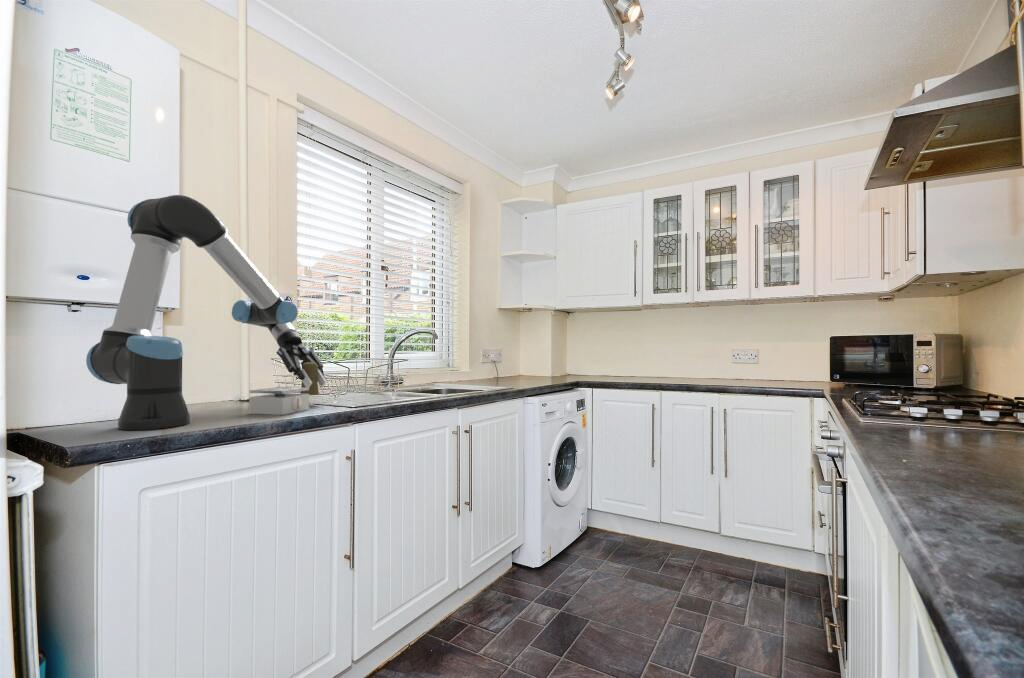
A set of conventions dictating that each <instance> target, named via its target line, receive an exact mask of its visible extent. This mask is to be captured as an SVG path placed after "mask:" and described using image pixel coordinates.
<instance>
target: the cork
mask: <svg viewBox="0 0 1024 678" xmlns="http://www.w3.org/2000/svg"><path fill="white" fill-rule="evenodd" d="M301 369H304V370H305V372H306V373H307V375H308V377H309V378H310V380H311V381H312V384H311V386H310V387H309V390H306V391H299V392H300V393H299V394H309V396H316V395H320V392H319V383H318V381H317V375H316V371H317V370H318V365H317V364H316V363H313V362H307V363H305V362H303V363H302V365H301ZM300 387H304V388H306V387H305V385H304V383H303V382H302V381H301V386H300Z"/></svg>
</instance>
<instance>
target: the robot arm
mask: <svg viewBox="0 0 1024 678" xmlns="http://www.w3.org/2000/svg"><path fill="white" fill-rule="evenodd" d="M127 225H128V227H129V228H130V232H131V234H130V239H131V241H132V242H133V243H134V249H133V252H132V256H131V259H130V263H129V266H128V270H127V273H126V276H125V280H124V283H123V287H122V289H121V290H122V291H121V294H120V298H119V302H118V304H117V308H116V312H115V315H114V317H113V323H112V325H111V326H109V327H107V328H104V329H103V332H102V335H101V338H100V340H99V342H97V343H96V344H95V345H93V346H91V348H90V349H89V350H88V351H87V354H86V359H85V361H86V362H85V363H86V367H87V369H88V371H89V373H90V374H91V375H92V376H93V377H94V378H96V379H97V380H99V381H101V382H103V383H109V384H112V385H113V384H115V385H122V384H124V385H126V399H125V402H124V404H123V407H122V409H121V413H120V416H119V417H118V419H117V421H118V422H117V430H118V429H119V430H124V431H145V430H147V431H148V430H157V429H167V428H174V427H180V426H185V425H188V424H190V423H191V414H190V412H189V409H188V407H187V403H186V401H185V399H184V395H183V357H184V356H183V355H184V352H183V344H182V341H181V340H180V339H178V338H175V337H169V336H161V335H160V336H159V335H153V334H152V328H153V325H154V321H155V317H156V313H157V310H158V306H159V302H160V299H161V295H162V291H163V287H164V283H165V279H166V277H167V271H168V268H169V265H170V261H171V257H172V255H173V254H175V253H177V252H179V250H180V247H181V245H182V244H181V243H182V240H183V238H186V239H187V240H190V242H193V243H194V244H195V246H196V248H199V249H200V248H201V249H204V250H205V251H206V253H208V254H209V256H211V258H212V259H213V260H214V261H215V262H216V263H217V264H218V266H220V267H221V269H223V271H224V272H225V273H226V274H227V275H228V276H229V277H230V278H231V280H233V281H234V283H235V284H236V285H237V286H238V288H240V289H241V290H242V292H243V293H244V294H245V295H247V297H248V298H249V299H250V300H251V301H252V302H251V301H249V300H243V299H241V300H240V299H239V300H237V301H236V302H235V303H234V304H233V306H232V309H231V316H232V318H233V320H234V321H235V322H238V323H242V324H246V325H252V326H259V327H263V328H267V329H268V330H269V332H270V334H271V335H272V337H273V339H274V340H275V341H276V343H277V346H278V347H279V348H278V349H277V351H276V355H278V356H279V357H280V359H281V361H282V362H283V364H284V366H285V368H286V370H287V371H288V372H289V373H290V374H291V373H293V374H292V375H293V376H297V377H298V379H299V380H300V381H301V383H302V382H303V383H304V385H305V387H306V388H309V387H310V386H311V384H312V381H311V380H310V378H309V377H308V375H307V373H306V372H305V370H304V369H302V366H301V364H300V361H303V363H307V362H313V363H316V364H317V365H318V370H317V371H316V375H317V383H318V385H319V386H320V388H324V387H325V386H326V384H327V380H326V379H325V377H324V373H323V372H322V369H323V368H324V364H323V363H322V362H321V360H320V359H319V357H318V355H317V354H316V353H315V350H314V348H313V347H309V348H308V347H306V346H305V345H304V344H303V341H302V338H301V336H300V334H299V333H298V331H297V329H295V327H294V325H293V324H292V323H293V322H295V320H296V319H297V317H298V315H299V310H298V307H297V304H296V303H295V302H293V301H292V300H286V299H285V300H284V299H283V298H282V297H281V295H280V294H279V293H278V292H277V291H276V290H275V288H274V287H273V286H272V284H271V283H270V282H269V281H268V280H267V279H266V278H265V276H263V274H262V273H261V272H260V271H259V269H257V267H256V266H255V265H254V264H253V263H252V261H251V260H250V259H249V258H248V257H247V255H246V254H245V253H244V252H243V251H242V249H241V248H240V247H239V246H238V245H237V243H235V242H234V240H233V239H232V238H231V237H230V236H229V234H228V228H227V227H226V226H225V224H224V223H223V222H222V221H221V220H220V218H219V217H218V216H216V215H215V213H214V212H212V211H211V210H210V209H209V208H208V207H206V206H205V205H204V204H202V202H200V201H198V200H196V199H194V198H192V197H189V196H186V195H182V194H172V195H167V196H163V197H158V198H149V199H148V198H147V199H145V200H142V201H140V202H137V203H136V204H135V205H133V206H132V207H131V209H130V210H129V212H128V215H127ZM299 360H300V361H299Z"/></svg>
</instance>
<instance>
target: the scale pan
mask: <svg viewBox="0 0 1024 678" xmlns="http://www.w3.org/2000/svg"><path fill="white" fill-rule="evenodd" d="M306 390H309V388H304V387H301V386H299V387H295V386H294V387H293V386H275V387H274V386H273V387H267V388H266V387H265V388H258V389H249V390H248V393H249V394H266V395H268V394H285V393H292V394H293V393H299V392H301V391H306Z"/></svg>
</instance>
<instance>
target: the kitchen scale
mask: <svg viewBox="0 0 1024 678" xmlns="http://www.w3.org/2000/svg"><path fill="white" fill-rule="evenodd" d="M248 399H249V403H248V405H249V406H248V407H249V411H248V413H249V414H250V415H251V414H252V415H253V414H255V415H258V414H259V415H281V416H284V415H289V414H294V413H300V412H303V411H309V410H310V395H309V394H300V393H293V392H292V393H285V394H264V395H256V396H255V395H254V396H249V397H248Z"/></svg>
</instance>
